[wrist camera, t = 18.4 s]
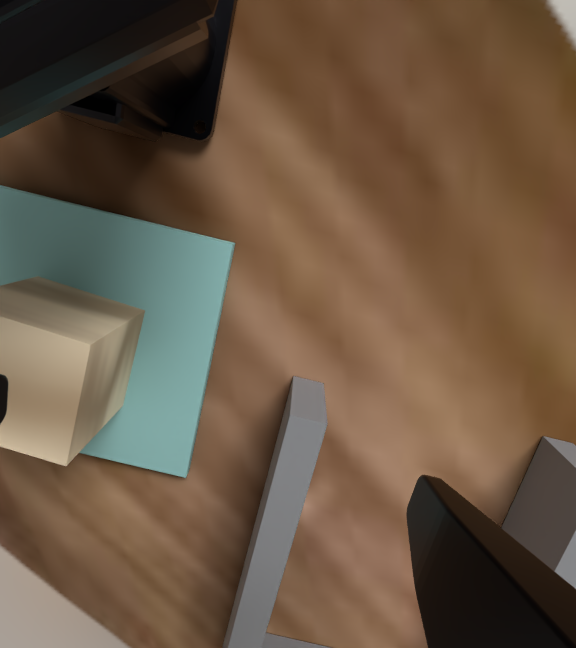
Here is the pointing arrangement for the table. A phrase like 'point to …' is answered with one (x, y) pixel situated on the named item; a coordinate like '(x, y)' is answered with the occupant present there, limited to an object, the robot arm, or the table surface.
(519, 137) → the table surface
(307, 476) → the grey u-shaped frame
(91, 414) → the wooden block
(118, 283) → the mat
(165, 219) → the table surface
